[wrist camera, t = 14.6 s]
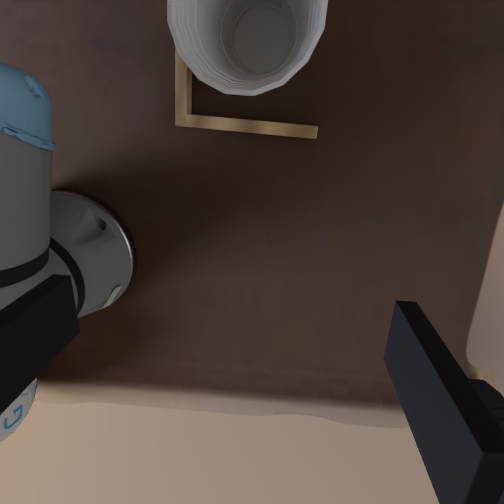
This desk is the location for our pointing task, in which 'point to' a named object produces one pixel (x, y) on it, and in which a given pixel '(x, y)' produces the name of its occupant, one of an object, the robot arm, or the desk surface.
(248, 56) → the plastic cup
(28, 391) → the puzzle ball
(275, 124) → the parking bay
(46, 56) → the desk surface
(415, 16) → the desk surface
